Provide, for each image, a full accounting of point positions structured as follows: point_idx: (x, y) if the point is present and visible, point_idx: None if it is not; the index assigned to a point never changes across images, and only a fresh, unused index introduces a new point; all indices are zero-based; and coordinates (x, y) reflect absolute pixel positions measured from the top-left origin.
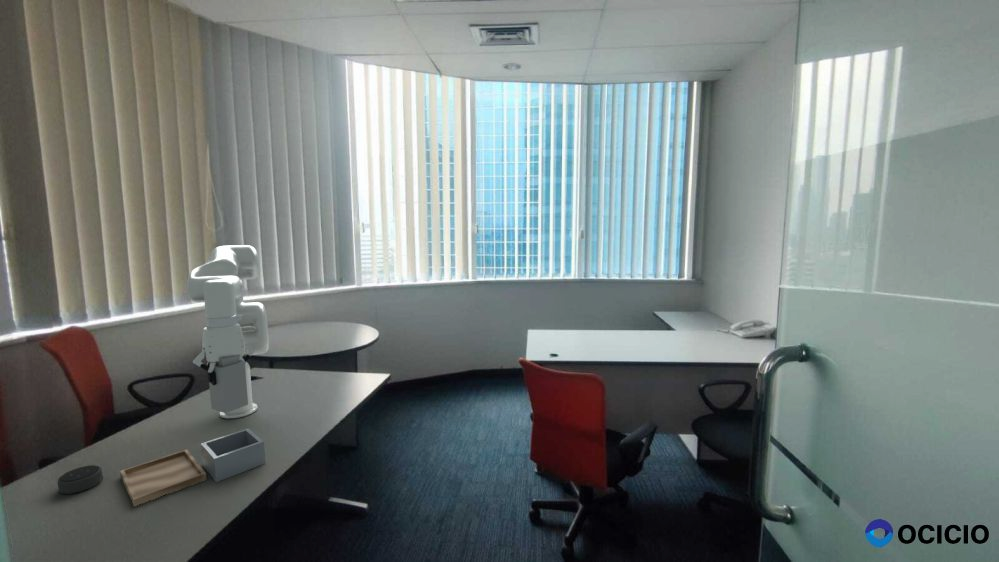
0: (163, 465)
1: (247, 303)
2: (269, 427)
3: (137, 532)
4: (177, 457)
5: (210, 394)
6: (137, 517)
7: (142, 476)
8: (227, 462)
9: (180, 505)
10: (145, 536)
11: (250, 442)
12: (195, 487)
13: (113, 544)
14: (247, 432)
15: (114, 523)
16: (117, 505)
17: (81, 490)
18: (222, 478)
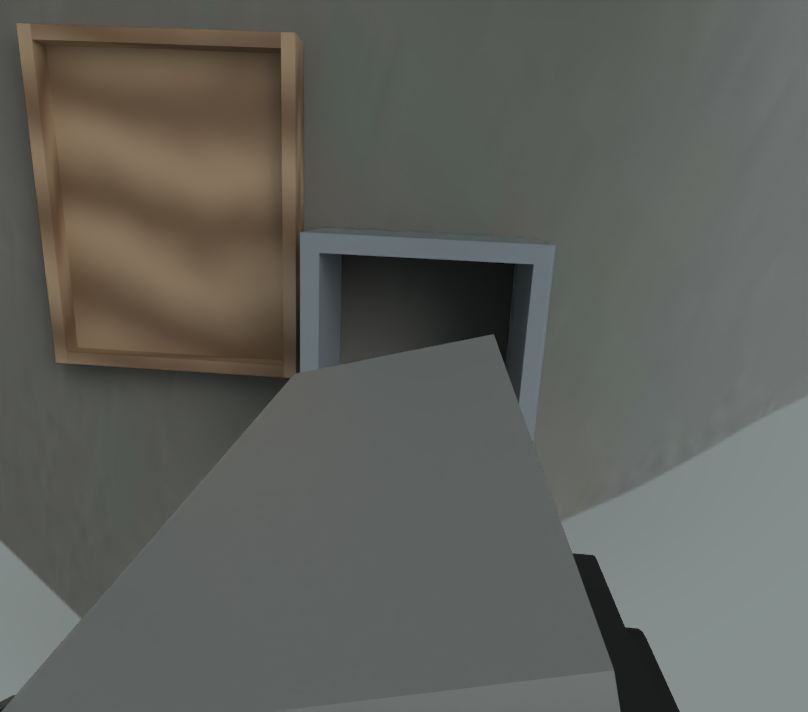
0: (189, 97)
1: None
2: (737, 49)
3: (76, 515)
4: (253, 58)
5: (251, 428)
6: (80, 431)
7: (105, 140)
8: None
9: (195, 471)
10: (92, 552)
11: (519, 319)
12: (258, 393)
13: (21, 520)
14: (530, 290)
15: (22, 409)
16: (29, 293)
17: None
18: None
